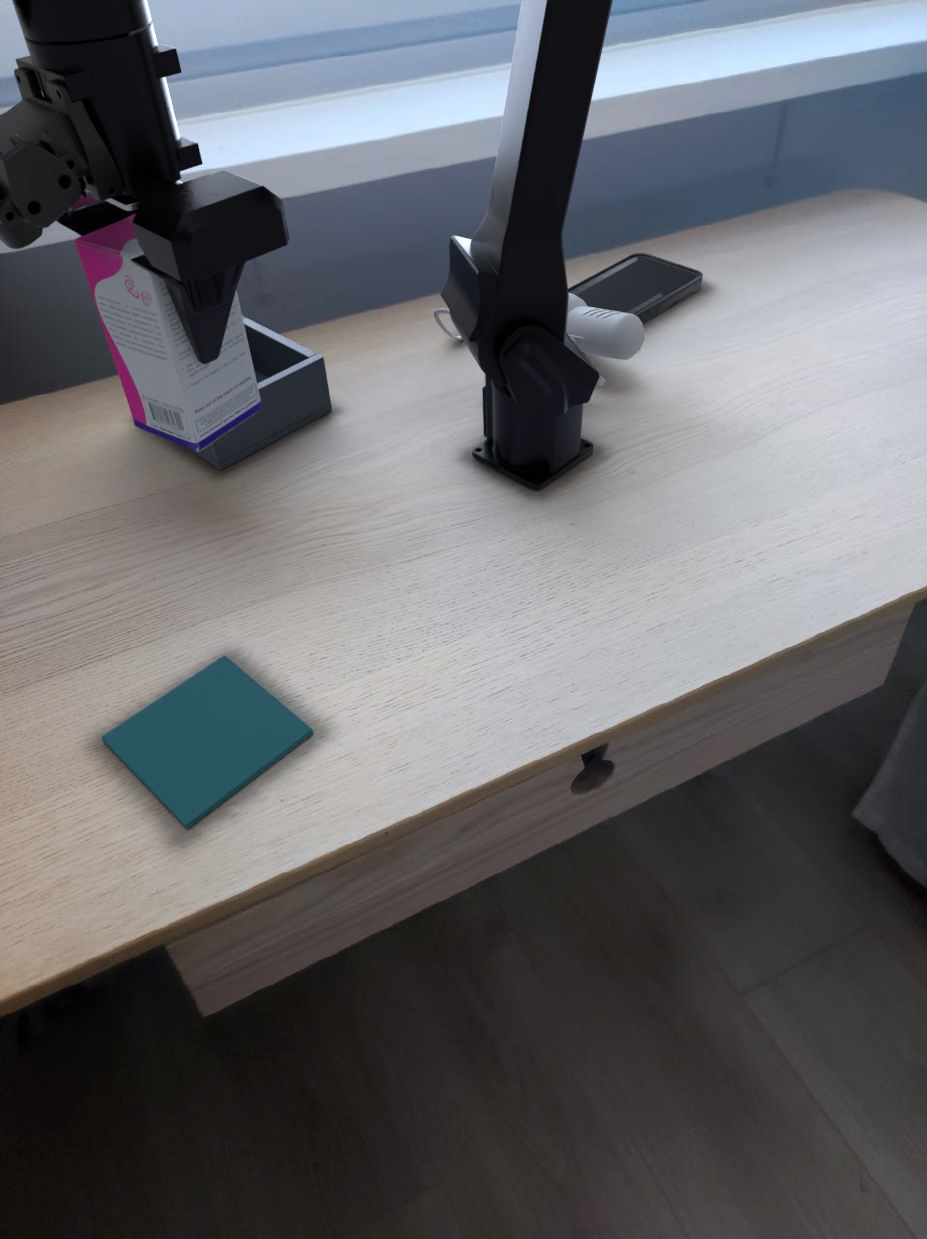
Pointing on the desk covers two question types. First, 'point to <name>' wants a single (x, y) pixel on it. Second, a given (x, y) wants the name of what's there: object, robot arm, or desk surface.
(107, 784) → the desk surface
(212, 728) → the counter mat
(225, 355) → the supplement box
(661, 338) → the desk surface
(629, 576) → the desk surface
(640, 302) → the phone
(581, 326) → the clip-on lamp
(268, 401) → the grey open box
